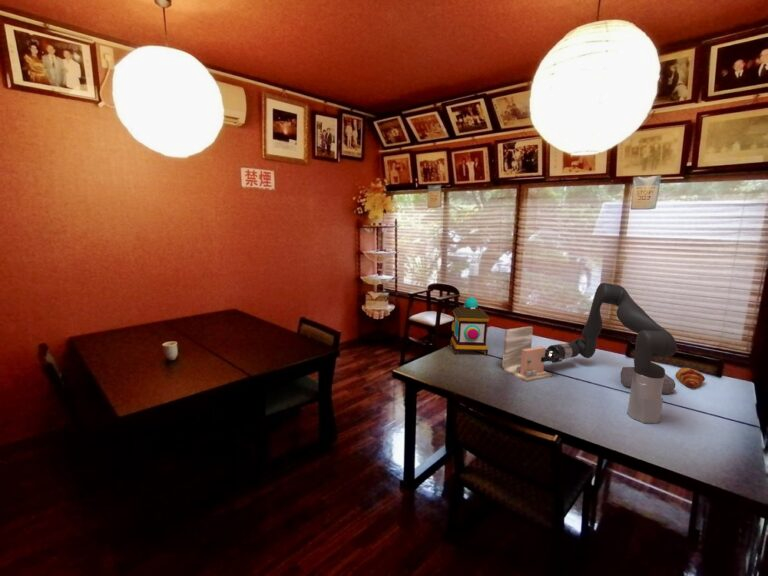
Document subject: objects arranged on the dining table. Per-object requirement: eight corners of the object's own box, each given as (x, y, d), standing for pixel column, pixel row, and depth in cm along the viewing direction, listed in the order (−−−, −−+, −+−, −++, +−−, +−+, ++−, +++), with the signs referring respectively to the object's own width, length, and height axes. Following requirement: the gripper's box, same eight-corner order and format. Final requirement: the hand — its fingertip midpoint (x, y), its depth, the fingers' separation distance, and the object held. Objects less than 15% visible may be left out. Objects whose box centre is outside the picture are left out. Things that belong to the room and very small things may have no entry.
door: (544, 372, 175) (547, 348, 173) (525, 376, 170) (527, 351, 168) (539, 370, 178) (541, 346, 176) (519, 373, 173) (522, 349, 171)
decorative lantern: (490, 357, 197) (495, 301, 191) (453, 356, 197) (456, 300, 191) (481, 344, 216) (485, 293, 211) (447, 343, 217) (450, 293, 211)
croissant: (677, 379, 182) (670, 363, 182) (702, 374, 176) (695, 358, 177) (682, 395, 164) (674, 377, 165) (711, 390, 159) (702, 372, 159)
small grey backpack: (622, 389, 162) (679, 399, 154) (625, 371, 160) (682, 380, 152) (617, 376, 175) (669, 384, 167) (619, 359, 174) (672, 367, 166)
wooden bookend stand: (551, 376, 173) (556, 335, 170) (525, 382, 167) (529, 339, 163) (527, 364, 187) (530, 326, 184) (502, 369, 181) (505, 329, 177)
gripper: (548, 340, 186) (523, 344, 179) (573, 349, 173) (547, 354, 166) (547, 354, 187) (522, 358, 181) (571, 364, 174) (545, 369, 168)
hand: (534, 356), depth 173 cm, fingers open, 8 cm apart
